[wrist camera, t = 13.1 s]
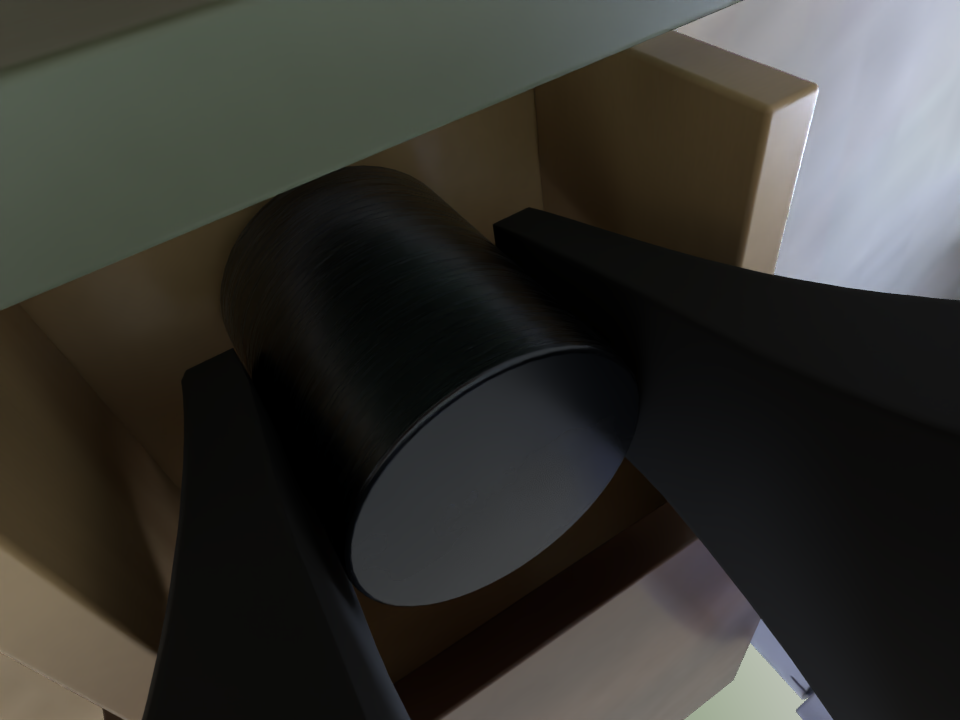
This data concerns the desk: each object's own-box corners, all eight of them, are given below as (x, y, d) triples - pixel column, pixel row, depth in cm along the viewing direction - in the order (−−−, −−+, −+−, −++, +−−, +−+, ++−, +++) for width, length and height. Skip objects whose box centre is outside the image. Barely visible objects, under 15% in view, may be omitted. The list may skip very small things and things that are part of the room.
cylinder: (433, 122, 9) (652, 284, 6) (471, 318, 12) (637, 493, 9) (168, 231, 8) (288, 484, 5) (276, 419, 11) (394, 652, 8)
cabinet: (64, 486, 13) (137, 931, 8) (572, 232, 16) (843, 436, 11) (288, 691, 22) (386, 956, 17) (582, 503, 25) (734, 679, 20)
